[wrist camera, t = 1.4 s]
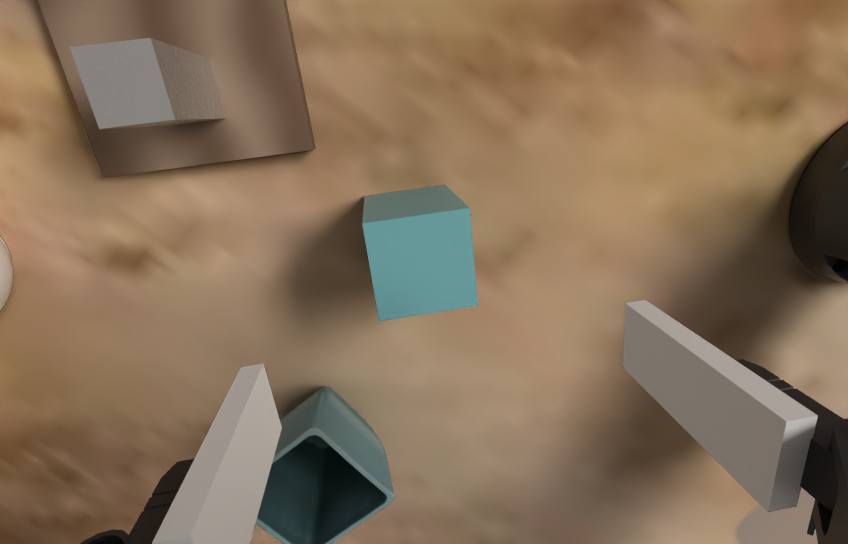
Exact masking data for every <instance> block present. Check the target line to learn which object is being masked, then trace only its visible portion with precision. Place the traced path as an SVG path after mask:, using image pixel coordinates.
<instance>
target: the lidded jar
mask: <svg viewBox="0 0 848 544" xmlns="http://www.w3.org/2000/svg"><path fill="white" fill-rule="evenodd" d="M12 284H13V266H12V262H11V255H10V252H9V250H8V247H7V245H6V244H5V242H4V240H3V239H2V238H1V237H0V311H1V309H2V308H3V306H4V304H5V303H6V301H7V299H8V298H9V295H10V292H11V289H12Z"/></svg>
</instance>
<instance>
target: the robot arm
mask: <svg viewBox="0 0 848 544" xmlns="http://www.w3.org/2000/svg"><path fill="white" fill-rule="evenodd" d="M790 232H791V239H792V243H793V246H794V248H795V251H796V253H797V255H798V256H799V258H800V259H801V260H802V262H803V263H804V264H805V265H806V266H807V267H808V268H810V269H811V270H813V271H814V272H816V273H818V274H820V275H823V276H826V277H828V278H831V279H834V280H837V281H840V282H843V283H846V284H848V124H847V125H845V126H844V127H842V128H841V129H840V130H839V131H838V132H836V133H835V134H834V135H833V136H832V137H831V138H830V139H829V140H828V141H827V142H826V143H825V144H824V146H823V147H822V148H821V149H820V150H819V151H818V153H817V154H816V155H815V157H814V158H813V160H812V161H811V162H810V164H809V166H808V167H807V169H806V171H805V172H804V174H803V176H802V178H801V180H800V182H799V185H798V187H797V190H796V193H795V196H794V199H793V203H792V208H791V215H790ZM623 368H624V369H625V370H626V371H627V372H628V373H629V374H630V375H631V376H632V377H633V378H634V379H635V380H636V381H637V382H638V383H639V384H640V385H641V386H642V387H643V388H644V389H645V390H646V391H647V392H648V393H649V394H650V395H651V396H652V397H653V398H654V399H655V400H656V401H657V402H658V403H659V404H660V405H661V406H662V407H663V408H664V409H665V410H666V411H667V412H668V413H669V414H670V415H671V416H672V417H673V418H674V419H675V420H676V421H677V422H678V423H679V424H680V425H681V426H682V427H683V428H684V429H685V430H686V431H687V432H688V433H689V434H690V435H691V436H692V437H693V438H694V439H695V440H696V441H697V442H698V443H699V444H700V445H701V446H702V447H703V448H704V449H705V450H706V451H707V452H708V453H709V454H710V455H711V456H712V457H713V458H714V459H715V460H716V461H717V462H718V463H719V464H720V465H721V466H722V467H723V468H724V469H725V470H726V471H727V472H728V473H729V474H730V475H731V476H732V477H733V478H734V479H735V480H736V481H737V482H738V483H739V484H740V485H741V486H742V487H743V488H744V489H745V490H746V491H747V492H748V493H749V494H750V495H751V496H752V497H753V498H754V499H755V500H756V501H757V502H758V503H759V504H760V505H761V506H762V507H763V508H764V509H765V510H766V511H767V512H771V511H776V510H781V509H786V508H791V507H796V506H797V503H798V499H799V494H800V490H801V487H802V488H803V489H804V490H806V491H807V492H808V493H809V494H810V495H811V496H813V497H814V498H815V503H814V507H813V511H812V515H811V519H810V523H809V526H808V531H807V534H810V535H813V534H814V530H815V529H816V533H817V540H818V544H848V419H843V418H841V417H840V416H838V415H837V414H835V413H833V412H832V411H830V410H829V409H827V408H826V407H824V406H822V405H821V404H819V403H818V402H816V401H815V400H813V399H812V398H810V397H808V396H807V395H805V394H804V393H802V392H801V391H799V390H798V389H794V388H793V386H791V385H790V384H788V383H787V382H785V381H784V380H780V379H779V377H777V376H776V375H774V374H773V373H771V372H769V371H768V370H766V369H765V368H763V367H761V366H758V365H756V364H753V363H750V362H748V361H745V360H743V359H742V360H734V359H733V358H731V357H730V356H728V355H727V354H725V353H724V352H722V351H721V350H719V349H718V348H716V347H715V346H713V345H712V344H710V343H709V342H707V341H706V340H704V339H703V338H701V337H700V336H698V335H697V334H695V333H694V332H692V331H691V330H689V329H688V328H686V327H685V326H683V325H682V324H681V323H679V322H678V321H676V320H675V319H673V318H672V317H670V316H669V315H667V314H666V313H664V312H663V311H661V310H660V309H658V308H657V307H655V306H654V305H652V304H651V303H649V302H648V301H646V300H642V301H636V302H630V303H625V326H624V350H623ZM281 429H282V426H281V423H280V419H279V416H278V413H277V409H276V406H275V402H274V399H273V395H272V392H271V388H270V385H269V382H268V378H267V375H266V371H265V368H264V364H258V365H252V366H246V367H241V368H240V370H239V372H238V374H237V376H236V378H235V380H234V382H233V384H232V386H231V388H230V390H229V392H228V394H227V396H226V398H225V400H224V402H223V404H222V406H221V408H220V409H219V411H218V413H217V415H216V417H215V419H214V421H213V423H212V425H211V427H210V429H209V431H208V433H207V435H206V437H205V439H204V441H203V443H202V445H201V447H200V449H199V451H198V453H197V455H196V457H195V459H191V460H185V461H180V462H177V463H176V464H175V465H174V466H173V467H172V468H171V469H170V470H169V471H168V472H167V473H166V474H165V475H164V476H163V477H162V478H161V479H160V481H159V483H158V485H157V487H156V488H155V490H154V492H153V494H152V497H151V498H150V499H149V501H148V502H147V504H146V506H145V508H144V511H143V512H142V513H141V515H140V516H139V518H138V520H137V522H136V523H135V525H134V527H133V529H132V530H131V532H130V534H129V535H128V534H127V533H126V532H124V531H123V530H109V531H106V532H102V533H99V534H97V535H95V536H93V537H91V538H89V539H87V540H85V541H83V542H82V543H81V544H250V541H251V538H252V534H253V530H254V527H255V523H256V520H257V516H258V512H259V509H260V505H261V502H262V498H263V494H264V491H265V487H266V484H267V480H268V476H269V473H270V469H271V465H272V462H273V458H274V455H275V451H276V447H277V444H278V440H279V437H280V433H281Z"/></svg>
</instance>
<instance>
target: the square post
mask: <svg viewBox="0 0 848 544" xmlns="http://www.w3.org/2000/svg"><path fill="white" fill-rule="evenodd" d="M70 49H71V52H72V55H73V58H74V60H75V63H76V66H77V69H78V71H79V74H80V77H81V80H82V83H83V85H84V88H85V91H86V94H87V96H88V99H89V102H90V105H91V108H92V110H93V113H94V116H95V119H96V121H97V124H98V127H99V129H111V128H131V127H151V126H170V125H178V124H186V123H194V122H202V121H210V120H217V119H225V114H224V110H223V106H222V103H221V99H220V95H219V91H218V87H217V84H216V80H215V76H214V72H213V68H212V65H211V61H210V59H209V58H207V57H204V56H201V55H198V54H195V53H192V52H189V51H187V50H184V49H181V48H178V47H175V46H172V45H170V44H167V43H164V42H161V41H158V40H155V39H152V38H144V39H136V40H127V41H118V42H109V43H101V44H92V45H83V46H74V47H70Z"/></svg>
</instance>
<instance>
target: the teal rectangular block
mask: <svg viewBox="0 0 848 544" xmlns="http://www.w3.org/2000/svg"><path fill="white" fill-rule="evenodd" d="M362 226H363V231H364V237H365V243H366V249H367V254H368V260H369V266H370V271H371V277H372V283H373V289H374V294H375V300H376V306H377V312H378V317H379V321H384V320H390V319H397V318H403V317H409V316H416V315H422V314H428V313H434V312H441V311H447V310H453V309H459V308H466V307H472V306H478V300H477V289H476V277H475V266H474V254H473V242H472V231H471V219H470V208H469V207H468V206H467V205H466V204H465V203H464V202H463V201H462V200H461V199H459V198H458V197H457V196H456V195H455V194H454V193H453V192H452V191H451V190H450V189H449V188H448V187H447V186H446V185H440V186H433V187H426V188H419V189H412V190H405V191H398V192H391V193H383V194H376V195H369V196H365V197H364V208H363V220H362Z"/></svg>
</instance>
